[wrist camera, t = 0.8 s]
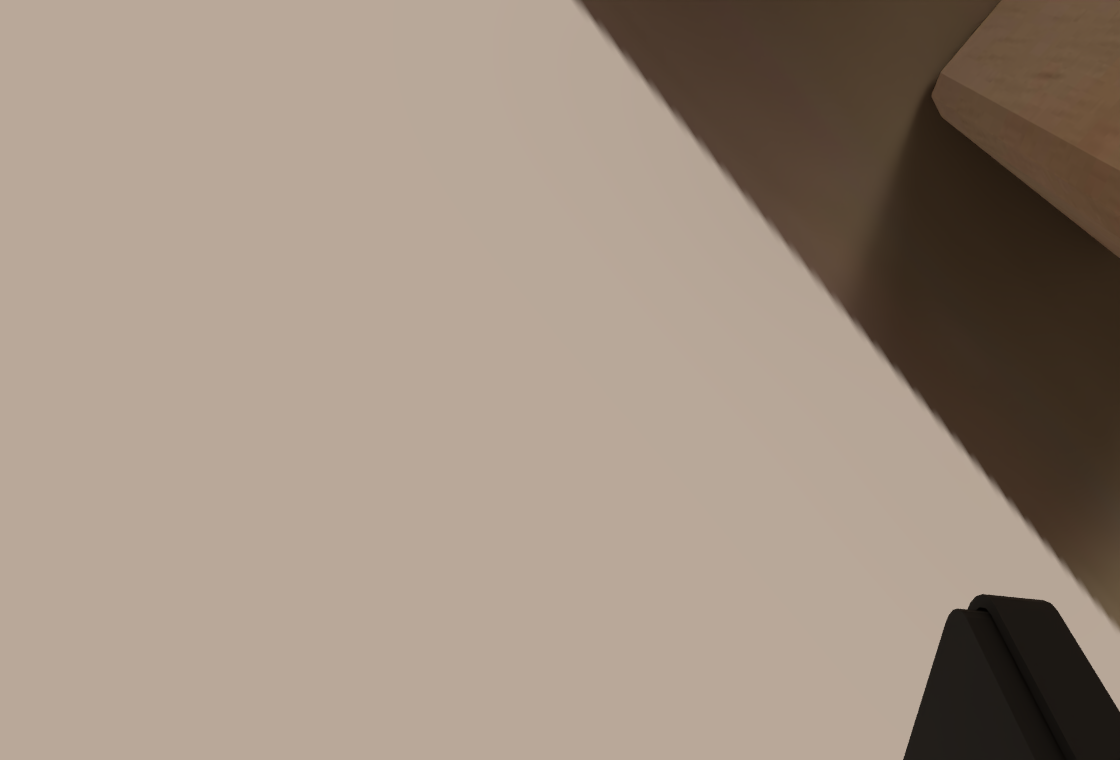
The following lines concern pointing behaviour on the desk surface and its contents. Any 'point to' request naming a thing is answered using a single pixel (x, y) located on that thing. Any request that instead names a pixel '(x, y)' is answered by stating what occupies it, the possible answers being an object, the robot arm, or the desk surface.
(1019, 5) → the block
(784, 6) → the desk surface
